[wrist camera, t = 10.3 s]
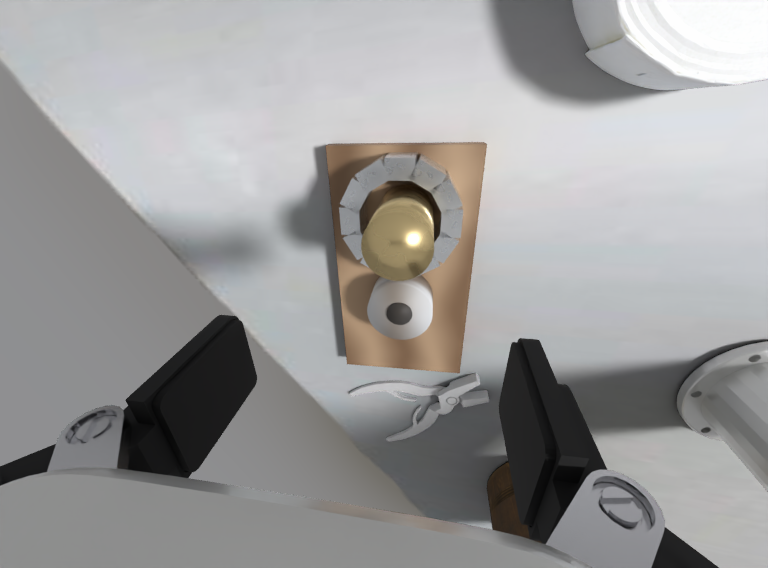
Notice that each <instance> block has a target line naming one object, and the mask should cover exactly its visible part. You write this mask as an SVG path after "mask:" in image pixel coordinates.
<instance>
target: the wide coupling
mask: <svg viewBox="0 0 768 568" xmlns="http://www.w3.org/2000/svg"><path fill="white" fill-rule="evenodd" d="M417 157H418V152H390V153H389V154H388V155H386V154H384V155H383V156H381V157H380V158H378V159H376V160H375V161H373V162H372V163H370V164H369V165H367V166H365V167H364V168H362V169H361V170H360V171H359V172H358V173H357V174H355V176H354V177H353V178H352V179H351V181H350V183H349V185H348V187H347V190H346V192H345V194H344V196H343V198H342V200H341V202H340V204H341V206H340V207H339V213H340V225H341V235H345V236H344V237H343V239H344V241H345V242H346V244H347V245H348V247H349V248H350V250H351V251H352V253H353V254H354V256H355V257H356V259H357V260H359V259H361V258H362V260H361V262H360V263H361V264H363V265H365V266H367V267H369V266H368V265H367V264H366V262H365V260H364V258H363V255H362V250H361V241H362V236H363V234H364V231H365V229H366V228H367V226H368V224H369V222H368V220H367V199H368V197H369V195H370V194H371V192H372V190H374V189H375V188H377V187H379V186H380V185H382V184H384V183H385V182H387V181H412V182H414V183H416V184H417V185H419V186H421V187H422V188H424V189H426V190H427V191H429V192H431V194H432V195H433V197H434V199H435V201H436V203H437V205H438V207H439V209H440V222H439V224H438V225H437V227H436V228H435V230H434V255H433V258H432V261H431V263H430V264H429V266H428V267H427V269H426V270H425V271H424V272H423V273H421V274H420V275H422V274H424V273H426V272H428V271H430V270H432V269H435V268H437V267H439V266H440V262H441V263H444V262H445V260H446V259H447V258H448V256H449V255H450V254H451V252H452V251H453V250H454V248H455V247H456V245H457V244H458V243H459V238H461V230H462V219H463V205H462V201H461V198H460V195H459V193H458V190H457V188H456V186H455V184H454V182H453V180H452V178H451V176H450V174H449V172H448V171H447V172H446V170H445V168H444V167H443V166H441V165H440V164H438V163H436V162H435V161H433V160H432V159H430V158H428V157H427V156H425V155H423V154H422V153H421V155H420V157H419V159H418V160H417ZM418 276H419V275H418Z"/></svg>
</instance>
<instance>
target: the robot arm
mask: <svg viewBox="0 0 768 568" xmlns="http://www.w3.org/2000/svg"><path fill="white" fill-rule="evenodd" d="M256 381H257V375H256V371H255V368H254V364H253V360H252V356H251V352H250V349H249V345H248V341H247V338H246V334H245V330H244V326H243V323H242V322H241V321H240V320H239V319H238V318H237V317H236V316H228V315H219V316H217V317H216V318H215V319H214V320H213V321H211V323H209V324H208V325H207V326H206V327H205V328H204V329H203V330H202V331H200V332H199V333H198V334H197V335H196V336H195V337H194V338H193V339H192V340H191V341H190V342H188V343H187V344H186V345H185V346H184V347H183V348H182V349H181V350H180V351H179V352H177V353H176V354H175V355H174V356H173V357H172V358H171V359H170V360H169V361H168V362H167V363H165V364H164V365H163V366H162V367H161V368H160V369H159V370H158V371H157V372H156V373H154V374H153V375H152V376H151V377H150V378H149V379H148V380H147V381H146V382H144V383H143V384H142V385H141V386H140V387H139V388H138V389H137V390H136V391H135V392H134V393H132V394H131V395H130V396H129V397H128V398H127V399H126V402H127V404H128V407H127V408H125V409H124V410H123V409H122V408H120V407H119V406H114V405H111V406H103V407H99V408H96V409H94V410H91V411H89V412H86V413H84V414H83V415H81V416H79V417H78V418H76V419H75V420H73V421H72V422H71V423H70V424H68V425H67V427H66V428H65V429H64V430H63V431H62V432H61V434H60V436H59V438H58V440H57V443H56V444H55V445H52V446H50V447H47V448H45V449H42V450H40V451H37V452H35V453H33V454H30V455H27V456H25V457H23V458H20V459H18V460H15V461H13V462H10V463H8V464H6V465H3V466H0V568H719V567H717V566H716V565H715V564H713V563H712V562H711V561H709V560H708V559H707V558H705V557H704V556H703V555H701V554H700V553H699V552H697V551H696V550H695V549H693V548H692V547H691V546H689V545H688V544H687V543H685V542H684V541H683V540H681V539H680V538H679V537H677V536H676V535H675V534H673V533H672V532H671V531H669V530H668V529H667V528H665V519H664V516H663V513H662V510H661V508H660V507H659V505H658V504H657V502H656V500H655V499H654V498H653V497H652V496H651V494H650V493H649V492H648V491H647V490H646V489H645V488H644V487H642V486H641V485H640V484H638V483H637V482H636V481H635V480H633V479H631V478H629V477H627V476H625V475H624V474H622V473H618V472H615V471H612V470H607V468H606V466H605V464H604V462H603V459H602V457H601V455H600V453H599V451H598V449H597V446H596V444H595V442H594V440H593V438H592V435H591V433H590V431H589V429H588V427H587V425H586V422H585V420H584V418H583V416H582V414H581V411H580V409H579V407H578V405H577V403H576V400H575V398H574V396H573V394H572V392H571V390H570V388H569V387H568V386H567V385H562V384H558V383H557V381H556V379H555V376H554V374H553V371H552V369H551V367H550V364H549V362H548V360H547V357H546V355H545V352H544V350H543V348H542V345H541V343H540V341H539V340H535V339H522V338H520V339H519V340H518V342H517V343H515V342H513V343H512V344H511V348H510V353H509V358H508V363H507V368H506V373H505V377H504V382H503V387H502V392H501V397H500V402H499V413H500V419H501V424H502V429H503V435H504V440H505V446H506V451H507V456H508V462H509V467H510V472H511V478H512V483H513V488H514V494H515V499H516V504H517V510H518V515H519V520H520V523H521V524H522V525H527V527H528V532H529V537H530V539H527V538H524V537H521V536H517V535H512V534H508V533H504V532H500V531H495V530H491V529H487V528H481V527H476V526H470V525H465V524H460V523H454V522H449V521H444V520H438V519H433V518H428V517H421V516H416V515H410V514H404V513H398V512H392V511H385V510H380V509H374V508H368V507H362V506H356V505H350V504H344V503H338V502H332V501H326V500H320V499H314V498H308V497H302V496H295V495H289V494H283V493H277V492H271V491H265V490H259V489H252V488H246V487H239V486H234V485H227V484H220V483H214V482H208V481H202V480H195V479H189V478H188V477H189V476H190V475H191V473H192V472H194V471H196V470H197V469H198V468H199V467H200V465H201V464H202V463H203V461H204V460H205V458H206V457H207V455H208V454H209V452H210V451H211V449H212V448H213V447H214V445H215V444H216V442H217V441H218V439H219V438H220V436H221V435H222V433H223V432H224V430H225V429H226V428H227V426H228V425H229V423H230V422H231V420H232V418H233V417H234V416H235V414H236V413H237V411H238V410H239V408H240V407H241V405H242V404H243V402H244V401H245V400H246V398H247V397H248V395H249V394H250V392H251V391H252V389H253V388H254V386H255V385H256ZM677 408H678V412H679V414H680V415H681V417H682V418H683V419H684V421H685V422H686V423H687V424H688V425H689V427H690V428H691V429H692V430H694V431H695V432H697V433H698V434H700V435H703V436H705V437H708V438H711V439H715V440H719V441H724V442H725V443H726V444H727V445H728V446H729V447H730V449H731V450H732V451H733V452H734V453H735V454H736V456H737V457H738V458H739V459H740V460H741V461H742V463H743V464H744V465H745V466H746V467H747V468H748V469H749V471H750V472H751V473H752V474H753V475H754V476H755V478H756V479H757V480H758V481H759V482H760V483H761V485H762V486H763V487H764V488H765V489H766V490H767V492H768V341H766V342H760V343H755V344H749V345H746V346H742V347H739V348H735V349H732V350H730V351H727V352H725V353H723V354H720V355H718V356H716V357H714V358H713V359H711V360H709V361H707V362H706V363H704V364H703V365H701V366H700V367H699V368H697V369H696V370H695V371H694V372H693V373H692V374H691V375H690V376H689V377H688V378H687V379H686V380H685V382H684V383H683V385H682V386H681V388H680V390H679V393H678V396H677ZM533 540H535V541H533ZM536 541H541V542H542V543H539V542H536Z"/></svg>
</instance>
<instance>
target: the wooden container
mask: <svg viewBox="0 0 768 568" xmlns="http://www.w3.org/2000/svg"><path fill="white" fill-rule="evenodd" d="M487 492H488V500H489V506H490V513H491V520H492V528H493V530H495V531H500V532H504V533H508V534H512V535H517V536H521V537H524V538H527V539H530V537H529V532H528V527H527V525H522V524H521V523H520V520H519V515H518V510H517V504H516V499H515V494H514V488H513V483H512V478H511V472H510V467H509V462H507V463H505V464H504V465H502V466H501V467H499V468H498V469H497V470H495V472H493V474H492V475H491V477H490V479H489V480H488V484H487ZM533 541H535V540H533ZM536 542H539V543H542V542H541V541H536Z"/></svg>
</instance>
